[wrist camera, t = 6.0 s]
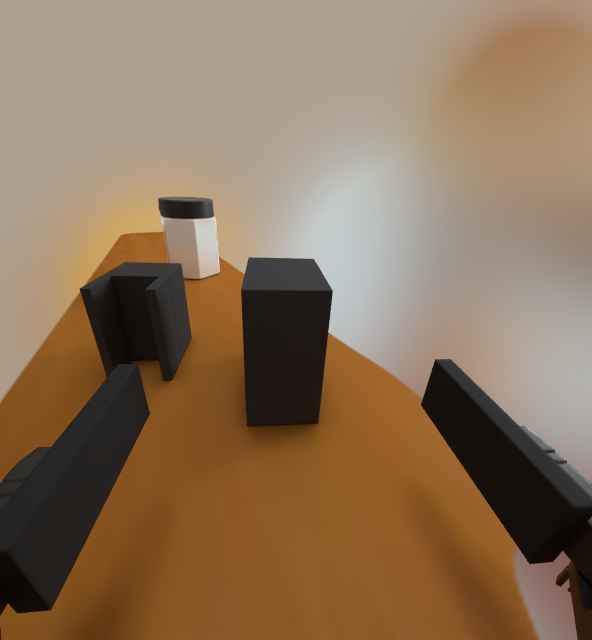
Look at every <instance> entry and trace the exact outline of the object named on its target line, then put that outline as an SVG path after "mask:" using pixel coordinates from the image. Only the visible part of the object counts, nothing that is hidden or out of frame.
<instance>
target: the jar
mask: <svg viewBox="0 0 592 640" xmlns="http://www.w3.org/2000/svg"><path fill="white" fill-rule="evenodd" d="M158 201H159V210H160V214H161V222H162V229H163V235H164V241H165V248H166V254H167V260H168V263H181V264H182V271H183V278H184V279H202V278H206V277H209V276H212V275H215V274H218V273H220V267H219V255H218V241H217V229H216V218H215V217H213V216H214V212H213V201H212V200H211V199H207V198H195V197H162V198H159V199H158Z"/></svg>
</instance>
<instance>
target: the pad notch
mask: <svg viewBox="0 0 592 640" xmlns="http://www.w3.org/2000/svg"><path fill="white" fill-rule="evenodd" d="M80 292H81V295H82V298H83V301H84V304H85V308H86V311H87V314H88V317H89V321H90V324H91V327H92V330H93V333H94V337H95V340H96V343H97V346H98V350H99V353H100V356H101V359H102V363H103V366H104V369H105V372H106V375H107V378H108V376H109V375H110V374H111V373H112V371H113V370H114V369H115V368H116V367H117V365H118V364H130V363H131V361H132V360H159V361H160V366H161V371H162V376H163V380H172V378H173V376H174V374H175V372H176V370H177V367H178V365H179V363H180V361H181V359H182V357H183V355H184V353H185V350H186V348H187V346H188V344H189V342H190V340H191V330H190V323H189V316H188V308H187V301H186V293H185V286H184V279H183V271H182V264H181V263H137V262H125V263H123V264H121V265H120V266H118V267H116V268H114V269H113V270H111V271H109V272H107V273H106V274H104V275H103V276H100V277H99V278H97V279H95V280H94V281H92V282H90V283H88V284H87V285H85V286H83V287H82V288H80Z"/></svg>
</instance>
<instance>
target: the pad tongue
mask: <svg viewBox="0 0 592 640" xmlns="http://www.w3.org/2000/svg"><path fill="white" fill-rule="evenodd" d="M332 293H333V291H332V289H331V287H330V286H329V284H328V282H327V280H326V279H325V277H324V275H323V274H322V272H321V270H320V269H319V267H318V265H317V264H316V262H315V260H314V259H292V258H249V259H248V263H247V268H246V272H245V276H244V281H243V285H242V289H241V296H242V319H243V343H244V366H245V390H246V414H247V426H256V425H282V424H308V423H318V420H319V411H320V402H321V393H322V384H323V375H324V366H325V357H326V348H327V338H328V329H329V320H330V311H331V302H332Z"/></svg>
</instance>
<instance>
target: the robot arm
mask: <svg viewBox="0 0 592 640" xmlns="http://www.w3.org/2000/svg"><path fill="white" fill-rule="evenodd" d="M421 406H422V407H423V409H424V410H425V412H426V413H427V415H428V416H429V417H430V419H431V420H432V422H433V423H434V425H435V426H436V428H437V429H438V431H439V432H440V434H441V435H442V436H443V438H444V439H445V441H446V442H447V444H448V445H449V447H450V448H451V450H452V451H453V453H454V454H455V455H456V457H457V458H458V460H459V461H460V463H461V464H462V466H463V467H464V469H465V470H466V472H467V473H468V474H469V476H470V477H471V479H472V480H473V482H474V483H475V485H476V486H477V488H478V489H479V491H480V492H481V494H482V495H483V496H484V498H485V499H486V501H487V502H488V504H489V505H490V507H491V508H492V510H493V511H494V513H495V514H496V515H497V517H498V518H499V520H500V521H501V523H502V524H503V526H504V527H505V529H506V530H507V532H508V533H509V534H510V536H511V537H512V539H513V540H514V542H515V543H516V545H517V546H518V548H519V549H520V551H521V552H522V554H523V555H524V556H525V558H526V559H527V561H528V562H529V564H535V563H546V562H553V561H554V560H555V559H556V558H557V557H558V556H559V554H560V553H561V552H562V551H564V552H565V554H566V555H567V556H568V558H570V560H571V562H570V563H569V564H568V565H567V567H566V568H565V569H564V570H563V571H562V572H561V573H560V574H559V575H558V576H557V580H556V584H557V585H559V586H560V587H561V586H562V585H563V584H564V583H565V582H566V581H567V579H568V578H569V582H570V587H569V589H568V591H569V592H571V596H572V603H573V610H574V616H575V624H576V630H577V637H578V640H592V484H591V483H590V482H589V481H588V480H587V479H586V478H584V477H583V476H582V475H581V474H580V473H579V472H578V471H577V470H576V469H575V468H574V467H573V466H571V464H568V463H567V461H566V460H565V459H564V458H563V457H562V456H561V455H560V454H559V453H556V452H555V449H553V448H552V447H551V446H550V445H549V444H548V443H547V442H546V441H545V440H544V439H543V438H542V437H540V436H539V435H537V434H536V433H534V432H533V431H531V430H530V429H528V428H527V427H525V426H518V425H517V424H516V423H515V422H514V421H513V420H512V419H511V418H510V417H509V416H508V415H507V414H506V413H505V412H504V411H503V410H502V409H501V408H500V407H499V406H498V405H497V404H496V403H495V402H494V401H493V400H492V399H491V398H490V397H489V396H488V395H487V394H486V393H485V392H484V391H482V389H481V388H479V386H477V385H476V384H475V383H474V382H473V381H472V380H471V379H470V378H469V377H468V376H467V375H466V374H465V373H464V372H463V371H462V370H461V369H460V368H459V367H458V366H457V365H456V364H455V363H454V362H453V361H452V360H451V359H444V360H443V359H442V360H435V362H434V366H433V368H432V372H431V375H430V378H429V381H428V385H427V388H426V391H425V394H424V397H423V400H422V403H421ZM149 414H150V413H149V408H148V404H147V400H146V396H145V392H144V388H143V384H142V380H141V376H140V372H139V368H138V364H118V365H117V367H116V368H115V369H114V370H113V371H112V373H111V374H110V375H109V376H108V378H107V379H106V380H105V381H104V383H103V384H102V385H101V386H100V388H99V389H98V390H97V391H96V393H95V394H94V395H93V396H92V397H91V399H90V400H89V401H88V402H87V404H86V405H85V406H84V407H83V409H82V410H81V411H80V412H79V414H78V415H77V416H76V417H75V418H74V420H73V421H72V422H71V423H70V425H69V426H68V427H67V428H66V430H65V431H64V432H63V433H62V435H61V436H60V437H59V438H58V439H57V441H56V442H55V443H54V444H53V446H52V447H38V448H37V449H35V450H34V451H33V452H31V453H30V454H29V455H27V456H26V457H25V458H23V459H22V460H21V461H19V462H18V463H17V464H16V465H15V466H14V468H13V469H12V470H11V471H10V472H9V473H8V474H7V475H6V477H5V478H4V479H3V482H2V483H0V615H1V613H2V612H3V610H4V609H5V607H6V605H7V604H8V603H9V605H10V606H11V607H12V608H13V609H14V610H15V611H16V612H17V613H27V612H38V611H48V610H51V609H52V607H53V605H54V603H55V601H56V599H57V597H58V595H59V593H60V591H61V589H62V587H63V585H64V583H65V581H66V579H67V577H68V575H69V573H70V571H71V570H72V568H73V566H74V564H75V562H76V560H77V558H78V556H79V554H80V552H81V550H82V548H83V546H84V544H85V542H86V540H87V538H88V536H89V534H90V532H91V530H92V528H93V526H94V524H95V522H96V520H97V518H98V516H99V514H100V512H101V510H102V508H103V506H104V504H105V502H106V500H107V498H108V496H109V494H110V492H111V490H112V488H113V486H114V484H115V482H116V480H117V478H118V476H119V474H120V472H121V470H122V468H123V466H124V464H125V462H126V460H127V458H128V456H129V454H130V452H131V450H132V448H133V446H134V444H135V442H136V440H137V438H138V436H139V434H140V432H141V430H142V428H143V426H144V424H145V422H146V420H147V418H148V416H149ZM0 640H1V629H0Z"/></svg>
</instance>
